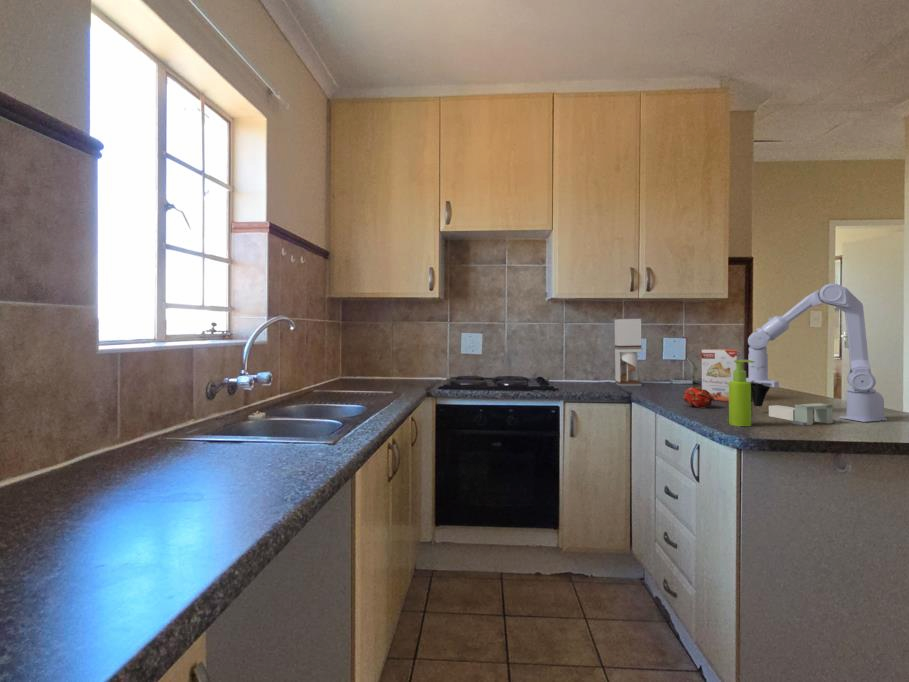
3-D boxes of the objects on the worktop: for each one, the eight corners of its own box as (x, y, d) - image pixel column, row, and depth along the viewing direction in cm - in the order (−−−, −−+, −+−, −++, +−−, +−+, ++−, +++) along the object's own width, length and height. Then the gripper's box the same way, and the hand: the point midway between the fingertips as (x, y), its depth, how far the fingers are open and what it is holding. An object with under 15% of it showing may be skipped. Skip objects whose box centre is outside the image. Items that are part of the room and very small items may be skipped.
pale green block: (823, 420, 156) (823, 402, 156) (836, 422, 152) (836, 404, 152) (790, 423, 153) (790, 405, 153) (803, 425, 149) (802, 407, 149)
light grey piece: (619, 386, 259) (618, 319, 258) (615, 383, 270) (614, 319, 269) (641, 386, 258) (641, 318, 257) (637, 383, 268) (636, 319, 267)
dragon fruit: (683, 408, 193) (712, 417, 183) (673, 397, 189) (702, 406, 179) (693, 390, 195) (723, 398, 184) (684, 379, 191) (713, 386, 180)
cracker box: (701, 399, 207) (700, 349, 206) (708, 397, 210) (707, 348, 210) (737, 402, 196) (736, 349, 195) (743, 401, 199) (743, 349, 199)
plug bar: (778, 415, 167) (778, 405, 166) (806, 420, 157) (806, 409, 157) (768, 416, 166) (768, 405, 165) (796, 421, 156) (796, 410, 156)
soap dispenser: (755, 427, 147) (754, 360, 147) (728, 425, 151) (727, 360, 151) (755, 424, 152) (754, 359, 152) (729, 422, 156) (729, 359, 156)
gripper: (731, 365, 178) (732, 403, 178) (766, 368, 163) (767, 409, 164) (747, 365, 179) (748, 402, 180) (783, 367, 165) (783, 408, 166)
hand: (758, 405), depth 172 cm, fingers closed
